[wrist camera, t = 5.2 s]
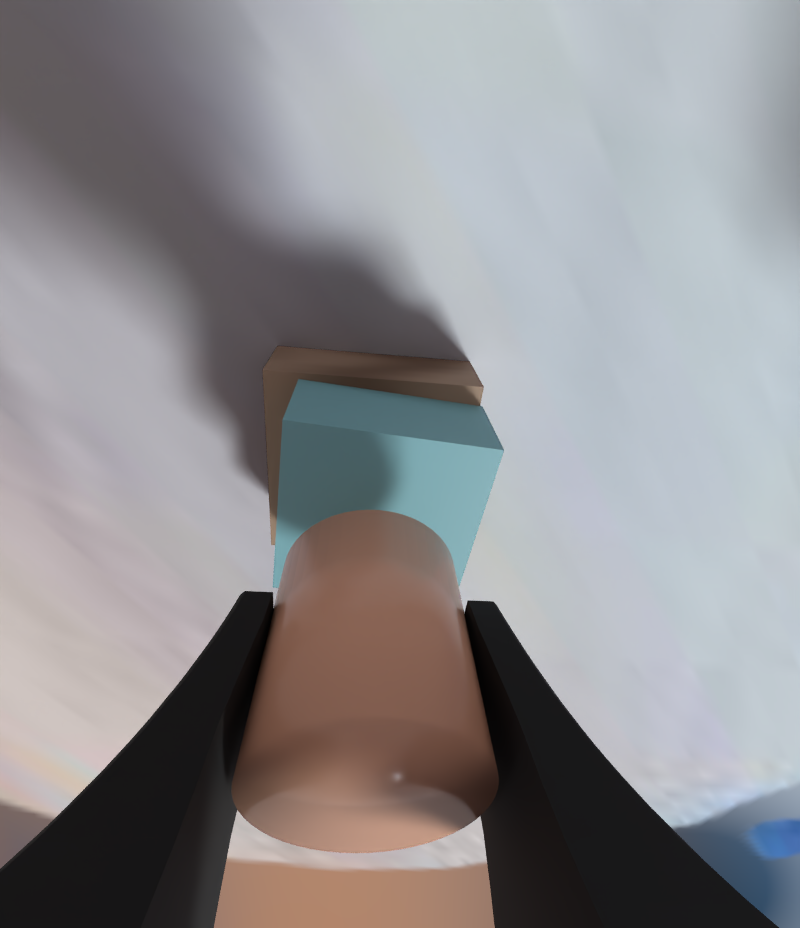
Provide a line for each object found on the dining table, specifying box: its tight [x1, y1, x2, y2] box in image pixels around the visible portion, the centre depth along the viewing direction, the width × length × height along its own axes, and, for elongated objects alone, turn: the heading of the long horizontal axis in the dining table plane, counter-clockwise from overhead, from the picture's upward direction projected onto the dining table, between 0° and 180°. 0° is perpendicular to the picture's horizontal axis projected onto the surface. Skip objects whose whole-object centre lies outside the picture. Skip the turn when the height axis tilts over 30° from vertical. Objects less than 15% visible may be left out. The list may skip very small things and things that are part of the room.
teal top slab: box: [273, 379, 504, 588], centre depth 15 cm, size 6×6×3 cm
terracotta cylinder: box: [231, 510, 499, 853], centre depth 10 cm, size 4×4×5 cm
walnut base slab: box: [262, 346, 484, 545], centre depth 18 cm, size 7×7×3 cm
